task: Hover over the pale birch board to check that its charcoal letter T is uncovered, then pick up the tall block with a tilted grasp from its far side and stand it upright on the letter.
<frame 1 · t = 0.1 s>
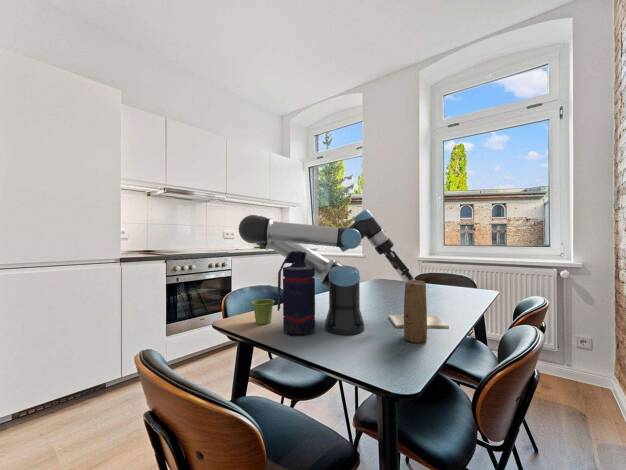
hand: (411, 283, 128), 15 cm above the table, tool tilted 35°, fingers open, 13 cm apart
letter board: (417, 322, 124), on the table
plant pot: (263, 323, 125), on the table
block: (415, 339, 105), on the table
grenade: (296, 332, 113), on the table
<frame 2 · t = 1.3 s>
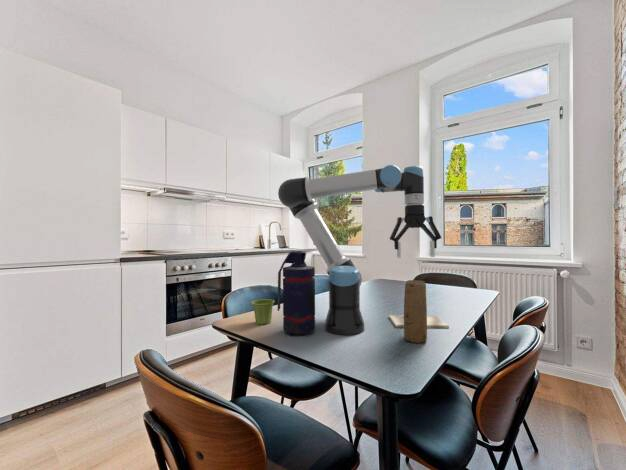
hand: (415, 257, 124), 27 cm above the table, tool pointing down, fingers open, 13 cm apart
nothing on the table moved.
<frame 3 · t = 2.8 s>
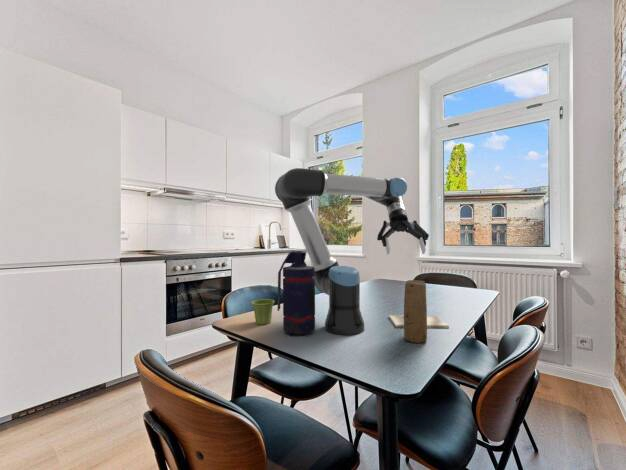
hand: (406, 251, 117), 29 cm above the table, tool tilted 45°, fingers open, 13 cm apart
nothing on the table moved.
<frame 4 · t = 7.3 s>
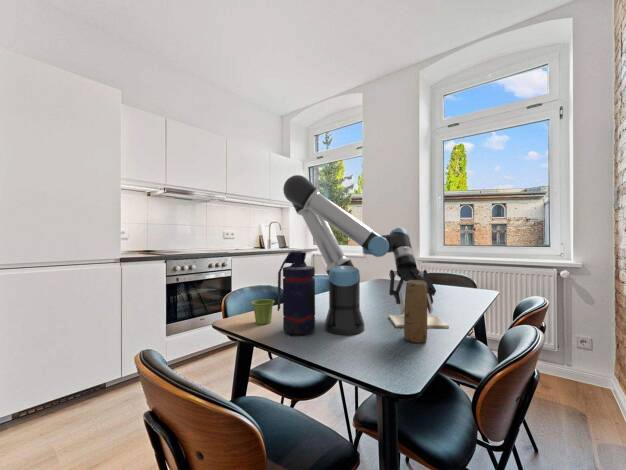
hand: (416, 311, 103), 10 cm above the table, tool tilted 45°, fingers closed on block, 9 cm apart
block: (415, 338, 105), on the table, touching gripper
everything else where it was.
when the fingers open (12 cm above the table, at t = 14.1 s): block drops 1 cm, resting on letter board.
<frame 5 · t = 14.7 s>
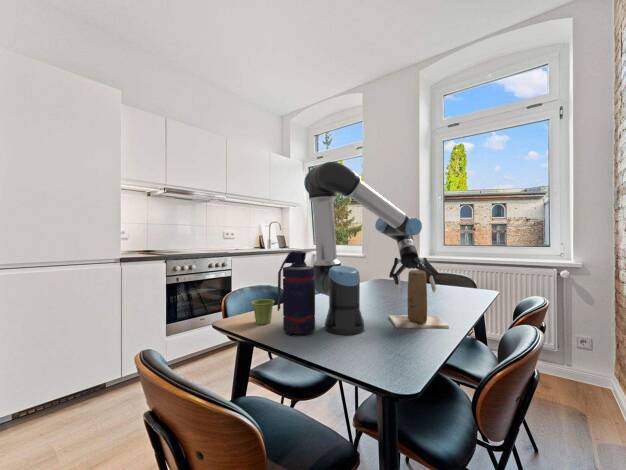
hand: (417, 290, 123), 13 cm above the table, tool tilted 45°, fingers open, 13 cm apart
block: (417, 320, 124), point 1 cm above the table, touching letter board
everything else where it was.
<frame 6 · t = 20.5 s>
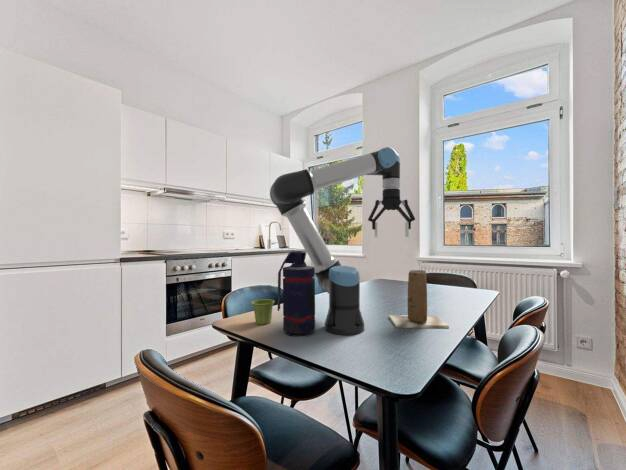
hand: (391, 237, 135), 35 cm above the table, tool pointing down, fingers open, 13 cm apart
nothing on the table moved.
at the end: block inside the target area on the letter board (0.1 cm from its centre), point 0.9 cm above the letter board's base; block tilted 0°; the gripper is holding nothing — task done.
